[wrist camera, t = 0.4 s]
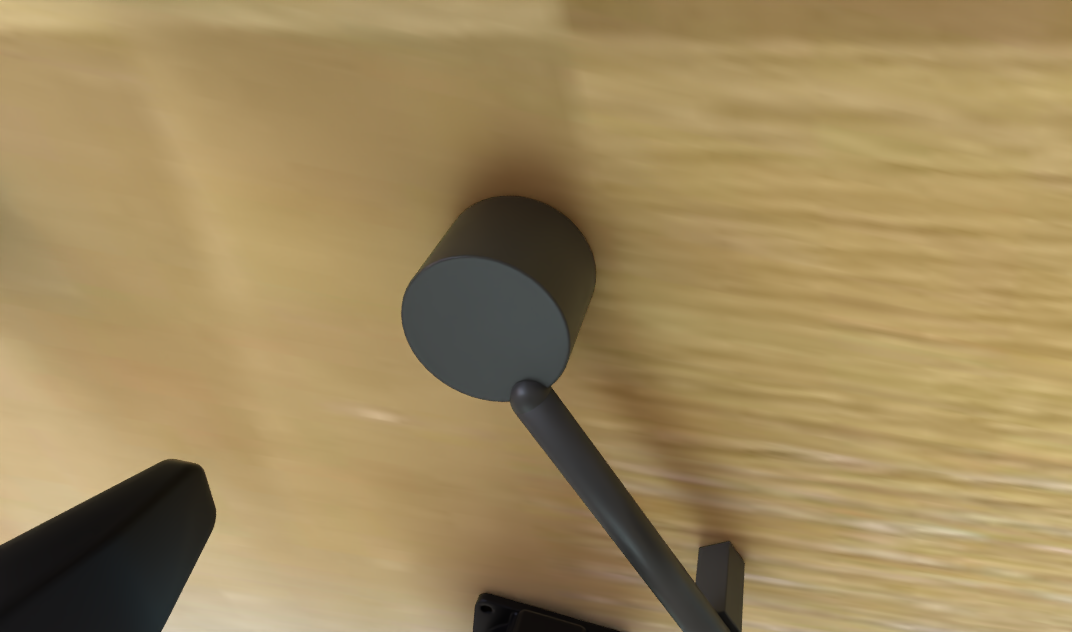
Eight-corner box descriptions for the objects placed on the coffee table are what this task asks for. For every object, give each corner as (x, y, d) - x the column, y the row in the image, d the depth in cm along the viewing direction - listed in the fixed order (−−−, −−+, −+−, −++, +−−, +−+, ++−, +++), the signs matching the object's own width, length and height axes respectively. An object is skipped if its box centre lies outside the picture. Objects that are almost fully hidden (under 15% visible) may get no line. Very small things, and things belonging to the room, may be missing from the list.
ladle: (807, 577, 27) (811, 687, 24) (689, 599, 29) (677, 702, 26) (540, 167, 21) (496, 238, 18) (416, 234, 23) (356, 309, 20)
